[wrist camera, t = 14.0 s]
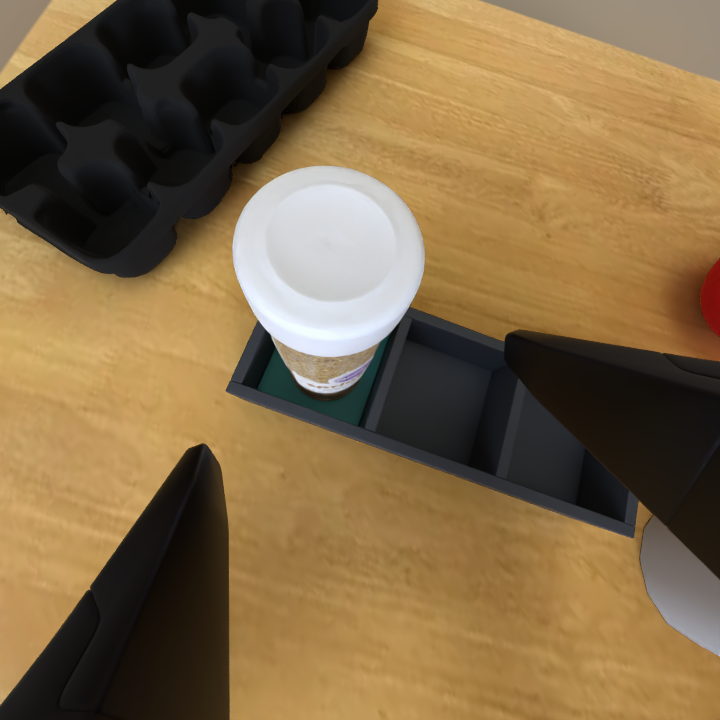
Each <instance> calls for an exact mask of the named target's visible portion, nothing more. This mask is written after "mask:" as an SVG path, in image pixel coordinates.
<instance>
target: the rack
mask: <svg viewBox="0 0 720 720" xmlns="http://www.w3.org/2000/svg"><path fill="white" fill-rule="evenodd" d="M504 346H505V342H503V341H500V340H497V339H495V338H492V337H489V336H487V335H484V334H481V333H478V332H476V331H473V330H470V329H468V328H465V327H462V326H460V325H457V324H454V323H452V322H449V321H446V320H443V319H441V318H438V317H435V316H433V315H430V314H427V313H425V312H422V311H419V310H417V309H414V308H411V307H409V308H408V309H407V311H406V313H405V314H404V316H403V317H402V319H401V320H400V322H399V323H398V324H397V325H396V327H395V328H394V329H393V330H392V331H391V332H390V333H389V335H388V336H386V337H385V338H384V339H383V340H381V342H380V343H379V346H378V347H377V349H376V351H375V353H374V356H373V358H372V360H371V362H370V363H369V365H368V367H367V368H366V370H365V372H364V373H363V375H362V377H361V379H360V381H359V383H358V385H357V386H356V387H355V389H354V390H353V391H352V392H351V393H349V394H348V395H346V396H345V397H343V398H340V399H336V400H332V401H319V400H316V399H313V398H311V397H309V396H307V395H305V394H304V393H303V392H301V391H300V390H299V389H298V388H297V386H296V385H295V383H294V381H293V379H292V377H291V374H290V370H289V369H288V367H287V366H286V364H285V363H284V361H283V359H282V357H281V355H280V354H279V352H278V350H277V348H276V346H275V344H274V342H273V340H272V337H271V334H270V333H269V332H268V331H267V330H266V329H265V328H264V327H263V326H262V324H261V323H260V322H259V320H258V321H257V323H256V326H255V328H254V330H253V332H252V334H251V336H250V339H249V341H248V343H247V345H246V347H245V350H244V352H243V354H242V356H241V358H240V361H239V363H238V365H237V367H236V369H235V371H234V374H233V376H232V378H231V381H230V382H229V384H228V386H227V389H226V392H228V393H230V394H232V395H235V396H237V397H239V398H241V399H243V400H246V401H249V402H251V403H254V404H257V405H260V406H263V407H265V408H268V409H271V410H274V411H276V412H279V413H282V414H285V415H287V416H290V417H293V418H296V419H299V420H301V421H304V422H307V423H310V424H312V425H315V426H318V427H321V428H323V429H326V430H329V431H332V432H335V433H337V434H340V435H343V436H346V437H348V438H351V439H354V440H357V441H359V442H362V443H365V444H368V445H371V446H373V447H376V448H379V449H382V450H384V451H387V452H390V453H393V454H396V455H398V456H401V457H404V458H407V459H409V460H412V461H415V462H418V463H420V464H423V465H426V466H429V467H432V468H434V469H437V470H440V471H443V472H445V473H448V474H451V475H454V476H456V477H459V478H462V479H465V480H468V481H470V482H473V483H476V484H479V485H481V486H484V487H487V488H490V489H492V490H495V491H498V492H501V493H504V494H506V495H509V496H512V497H515V498H517V499H520V500H523V501H526V502H528V503H531V504H534V505H537V506H540V507H542V508H545V509H548V510H551V511H553V512H556V513H559V514H562V515H565V516H567V517H570V518H573V519H576V520H579V521H582V522H585V523H588V524H591V525H594V526H597V527H600V528H603V529H606V530H609V531H612V532H615V533H618V534H621V535H624V536H627V537H630V538H634V533H635V527H634V526H635V524H636V516H637V507H638V499H637V498H636V497H635V496H634V495H633V494H632V493H631V492H630V491H629V490H628V489H627V488H626V487H625V486H624V485H623V484H622V483H621V482H620V481H619V480H618V479H617V478H616V477H615V476H614V475H613V474H612V473H611V472H610V471H609V470H608V469H607V468H605V467H604V466H603V465H602V464H601V463H600V462H599V461H598V460H597V459H596V458H595V457H594V456H593V455H592V454H591V453H590V452H589V451H588V450H587V449H586V448H585V447H584V446H583V445H582V444H581V443H580V442H579V441H578V440H577V439H576V438H575V437H574V436H573V435H572V434H571V433H570V432H569V431H568V430H567V429H566V428H565V427H564V426H563V425H562V424H561V423H560V422H559V421H558V420H557V419H556V418H555V417H554V416H553V415H552V414H550V413H549V412H548V411H547V410H546V409H545V408H544V407H543V406H542V405H541V404H540V403H539V402H538V401H537V399H536V398H535V397H534V396H533V395H532V394H531V393H530V391H529V390H528V389H527V388H526V387H525V385H524V384H523V383H522V382H521V381H520V379H519V378H518V377H517V376H516V375H515V373H514V372H513V371H512V370H511V368H510V367H509V366H508V365H507V364H506V362H505V359H504Z"/></svg>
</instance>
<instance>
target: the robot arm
mask: <svg viewBox="0 0 720 720" xmlns="http://www.w3.org/2000/svg"><path fill="white" fill-rule="evenodd" d="M504 359H505V362H506V364H507V365H508V366H509V367H510V368H511V370H512V371H513V372H514V373H515V375H516V376H517V377H518V378H519V379H520V381H521V382H522V383H523V384H524V385H525V387H526V388H527V389H528V390H529V391H530V393H531V394H532V395H533V396H534V397H535V398H536V399H537V401H538V402H539V403H540V404H541V405H542V406H543V407H544V408H545V409H546V410H547V411H548V412H549V413H550V414H552V415H553V416H554V417H555V418H556V419H557V420H558V421H559V422H560V423H561V424H562V425H563V426H564V427H565V428H566V429H567V430H568V431H569V432H570V433H571V434H572V435H573V436H574V437H575V438H576V439H577V440H578V441H579V442H580V443H581V444H582V445H583V446H584V447H585V448H586V449H587V450H588V451H589V452H590V453H591V454H592V455H593V456H594V457H595V458H596V459H597V460H598V461H599V462H600V463H601V464H602V465H603V466H604V467H605V468H607V469H608V470H609V471H610V472H611V473H612V474H613V475H614V476H615V477H616V478H617V479H618V480H619V481H620V482H621V483H622V484H623V485H624V486H625V487H626V488H627V489H628V490H629V491H630V492H631V493H632V494H633V495H634V496H635V497H636V498H637V499H638V500H639V501H640V502H641V503H642V504H643V505H644V506H645V507H646V508H647V509H648V510H649V511H650V512H651V513H652V514H653V515H654V516H655V517H656V518H657V519H658V520H659V521H660V522H662V523H663V524H664V525H665V526H667V529H668V530H669V531H670V532H671V533H672V534H673V535H674V536H675V537H677V538H678V539H679V540H680V541H681V542H682V543H683V544H684V545H685V546H686V547H687V548H688V549H689V550H690V551H691V552H692V553H693V554H694V555H695V556H696V557H697V558H698V559H699V560H700V561H701V562H702V563H703V564H704V565H705V566H706V567H707V568H708V569H709V570H710V571H711V572H712V573H713V574H714V575H715V576H716V577H717V578H718V579H719V580H720V361H712V360H705V359H698V358H692V357H685V356H679V355H673V354H667V353H663V354H661V353H660V352H655V351H648V350H642V349H636V348H630V347H624V346H618V345H612V344H606V343H600V342H594V341H588V340H582V339H576V338H570V337H564V336H558V335H552V334H546V333H540V332H534V331H527V330H521V329H519V330H515V331H513V332H510V333H508V334H507V335H506V337H505V346H504ZM90 589H91V590H88V591H86V593H85V594H84V596H83V597H82V598H81V600H80V601H79V603H78V604H77V606H76V607H75V608H74V610H73V611H72V613H71V614H70V615H69V617H68V618H67V619H66V621H65V622H64V623H63V625H62V626H61V628H60V629H59V630H58V632H57V633H56V634H55V636H54V637H53V638H52V640H51V641H50V643H49V644H48V645H47V646H46V648H45V649H44V650H43V652H42V653H41V654H40V656H39V657H38V658H37V659H36V661H35V662H34V663H33V665H32V666H31V667H30V668H29V670H28V671H27V672H26V674H25V675H24V676H23V677H22V679H21V680H20V681H19V683H18V684H17V685H16V686H15V688H14V689H13V690H12V691H11V693H10V694H9V695H8V696H7V698H6V699H5V700H4V702H3V703H2V704H1V705H0V720H230V695H229V529H228V517H227V509H226V501H225V494H224V486H223V478H222V471H221V467H220V464H219V462H218V461H217V459H216V458H215V456H214V455H213V453H212V452H211V450H210V449H209V447H208V446H207V445H206V444H203V443H202V444H199V445H196V446H194V447H191V448H189V449H188V450H187V451H186V452H185V453H184V455H183V456H182V458H181V459H180V460H179V462H178V463H177V465H176V466H175V468H174V469H173V470H172V472H171V473H170V475H169V476H168V477H167V479H166V480H165V482H164V483H163V484H162V486H161V487H160V489H159V490H158V491H157V493H156V494H155V496H154V497H153V499H152V500H151V501H150V503H149V504H148V506H147V507H146V508H145V510H144V511H143V513H142V514H141V515H140V517H139V518H138V520H137V521H136V523H135V524H134V525H133V527H132V528H131V530H130V531H129V532H128V534H127V535H126V537H125V538H124V539H123V541H122V542H121V544H120V545H119V546H118V548H117V549H116V551H115V552H114V554H113V555H112V556H111V558H110V559H109V561H108V562H107V563H106V565H105V566H104V568H103V569H102V570H101V572H100V573H99V575H98V576H97V578H96V579H95V580H94V582H93V583H92V585H91V586H90Z"/></svg>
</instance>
